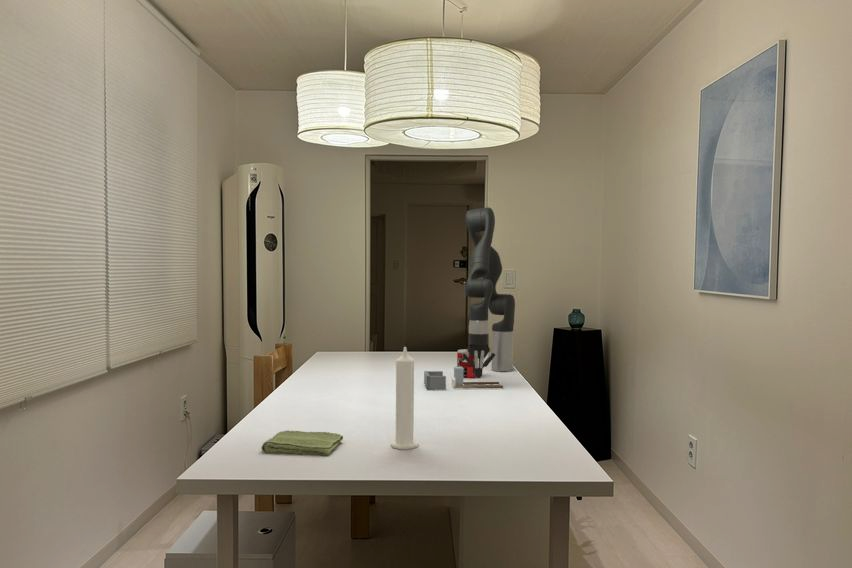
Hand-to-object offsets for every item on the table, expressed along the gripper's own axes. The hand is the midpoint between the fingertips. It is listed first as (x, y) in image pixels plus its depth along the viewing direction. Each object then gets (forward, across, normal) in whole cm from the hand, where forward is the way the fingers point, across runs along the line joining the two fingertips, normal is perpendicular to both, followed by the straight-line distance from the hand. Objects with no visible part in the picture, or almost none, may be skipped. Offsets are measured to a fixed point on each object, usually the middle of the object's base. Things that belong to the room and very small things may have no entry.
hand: (478, 377), depth 226 cm
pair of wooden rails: (+3, 0, 0) cm, 3 cm away
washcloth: (+3, +55, +73) cm, 92 cm away
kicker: (+3, +8, +1) cm, 8 cm away
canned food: (+4, +2, -18) cm, 19 cm away
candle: (+3, +30, +73) cm, 79 cm away
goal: (+3, +16, +1) cm, 17 cm away
